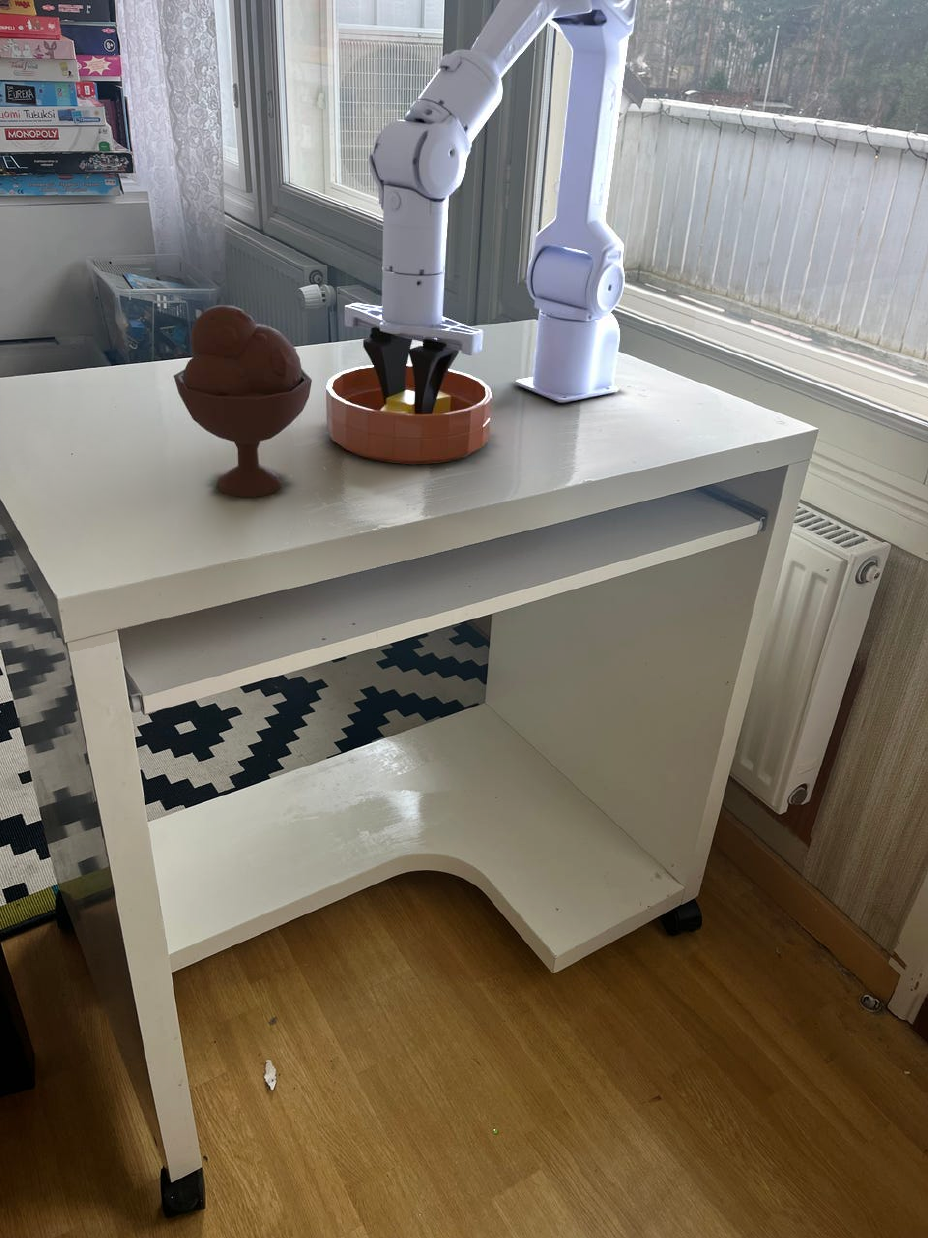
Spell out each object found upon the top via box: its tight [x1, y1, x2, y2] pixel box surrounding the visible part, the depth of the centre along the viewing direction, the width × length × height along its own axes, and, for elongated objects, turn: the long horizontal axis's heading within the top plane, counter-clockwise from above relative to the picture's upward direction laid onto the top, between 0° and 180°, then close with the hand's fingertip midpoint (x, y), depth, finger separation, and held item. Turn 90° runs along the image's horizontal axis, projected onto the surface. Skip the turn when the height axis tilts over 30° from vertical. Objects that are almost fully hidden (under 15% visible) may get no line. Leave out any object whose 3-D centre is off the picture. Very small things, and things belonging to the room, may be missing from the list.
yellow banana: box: [380, 390, 451, 414], centre depth 93 cm, size 10×4×3 cm, turn 148°
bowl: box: [325, 363, 493, 465], centre depth 94 cm, size 16×16×5 cm
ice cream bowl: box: [173, 304, 313, 498], centre depth 79 cm, size 11×11×15 cm
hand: (408, 412), depth 94 cm, fingers closed on yellow banana, 3 cm apart
